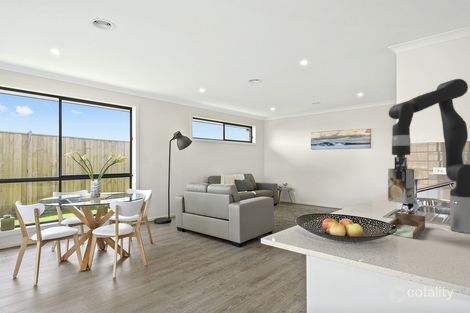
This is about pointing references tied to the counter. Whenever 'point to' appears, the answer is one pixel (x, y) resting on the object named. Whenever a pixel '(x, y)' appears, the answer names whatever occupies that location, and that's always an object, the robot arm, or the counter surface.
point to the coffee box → (401, 186)
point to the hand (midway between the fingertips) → (401, 178)
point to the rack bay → (411, 221)
